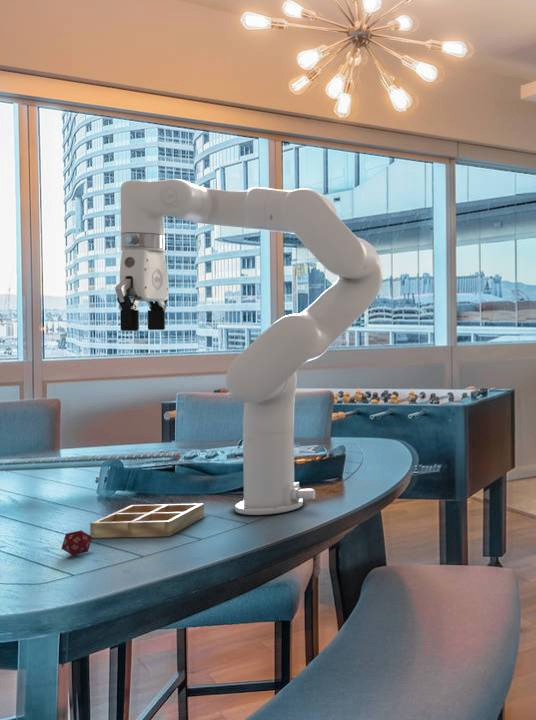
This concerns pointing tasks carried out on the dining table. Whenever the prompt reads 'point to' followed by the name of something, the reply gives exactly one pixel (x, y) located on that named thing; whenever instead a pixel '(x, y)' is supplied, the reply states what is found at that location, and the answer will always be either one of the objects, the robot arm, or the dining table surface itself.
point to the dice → (76, 542)
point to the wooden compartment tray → (147, 520)
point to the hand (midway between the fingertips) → (143, 330)
